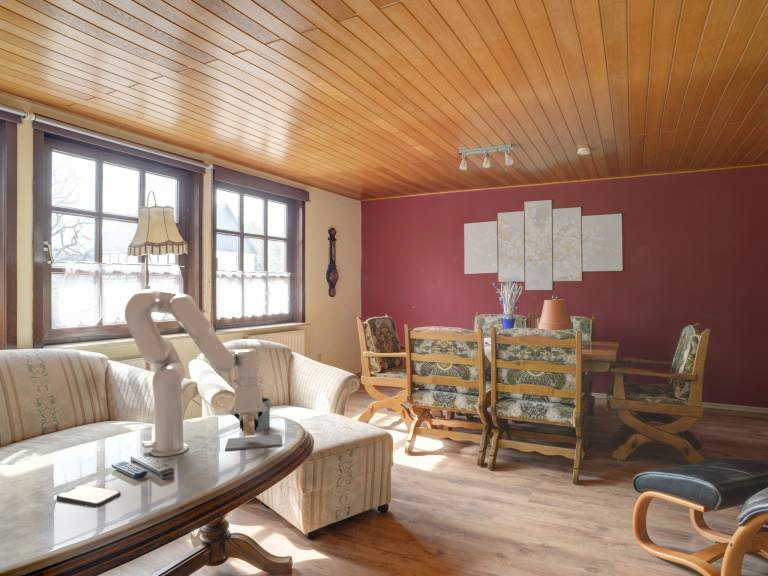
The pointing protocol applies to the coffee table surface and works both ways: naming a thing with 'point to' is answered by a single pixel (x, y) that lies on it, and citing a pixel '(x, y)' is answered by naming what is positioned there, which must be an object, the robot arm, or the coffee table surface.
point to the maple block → (248, 424)
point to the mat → (253, 442)
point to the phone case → (88, 495)
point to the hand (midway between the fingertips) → (249, 429)
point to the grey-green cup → (264, 416)
